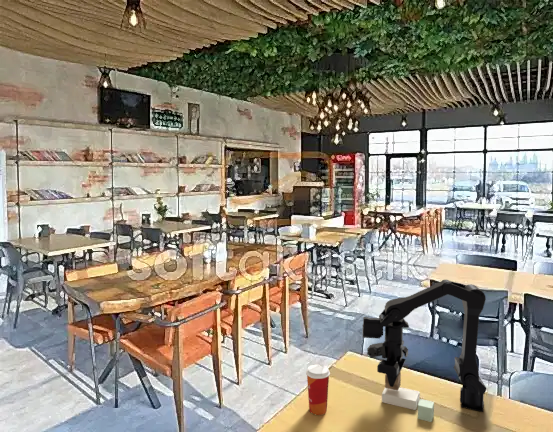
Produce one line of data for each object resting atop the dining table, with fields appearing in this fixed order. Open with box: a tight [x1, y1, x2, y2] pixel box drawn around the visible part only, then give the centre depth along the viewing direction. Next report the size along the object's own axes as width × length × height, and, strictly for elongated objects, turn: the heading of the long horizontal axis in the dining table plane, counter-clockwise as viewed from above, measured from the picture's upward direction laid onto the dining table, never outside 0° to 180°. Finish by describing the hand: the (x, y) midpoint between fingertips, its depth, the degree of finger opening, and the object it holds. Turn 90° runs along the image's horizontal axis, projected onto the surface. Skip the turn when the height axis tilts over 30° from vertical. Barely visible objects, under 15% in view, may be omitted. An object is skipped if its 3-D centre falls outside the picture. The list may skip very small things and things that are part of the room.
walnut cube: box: [384, 371, 402, 391], centre depth 146 cm, size 4×4×4 cm
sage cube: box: [417, 398, 435, 423], centre depth 135 cm, size 4×4×4 cm
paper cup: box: [305, 364, 331, 416], centre depth 139 cm, size 8×8×14 cm
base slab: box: [381, 386, 421, 411], centre depth 145 cm, size 11×7×3 cm, turn 62°
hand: (393, 383), depth 146 cm, fingers closed on walnut cube, 4 cm apart
